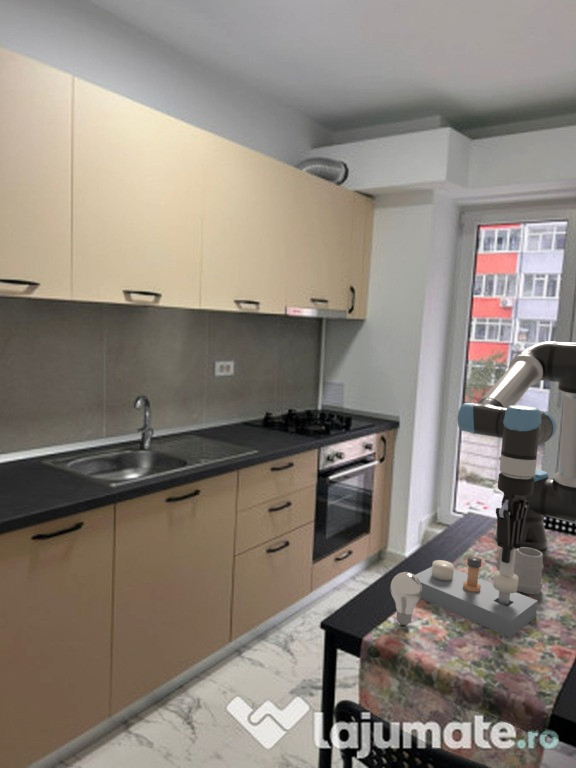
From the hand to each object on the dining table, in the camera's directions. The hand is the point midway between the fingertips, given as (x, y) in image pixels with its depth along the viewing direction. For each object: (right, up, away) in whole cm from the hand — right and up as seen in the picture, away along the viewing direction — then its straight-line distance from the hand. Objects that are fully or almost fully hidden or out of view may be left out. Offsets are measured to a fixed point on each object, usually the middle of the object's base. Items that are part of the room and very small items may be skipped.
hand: (506, 574), depth 131 cm
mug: (+10, -9, +19) cm, 23 cm away
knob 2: (0, -7, +1) cm, 7 cm away
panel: (-6, -10, +7) cm, 13 cm away
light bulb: (-25, -10, -4) cm, 27 cm away
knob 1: (-12, -8, +13) cm, 19 cm away
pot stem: (-6, -6, +6) cm, 10 cm away
